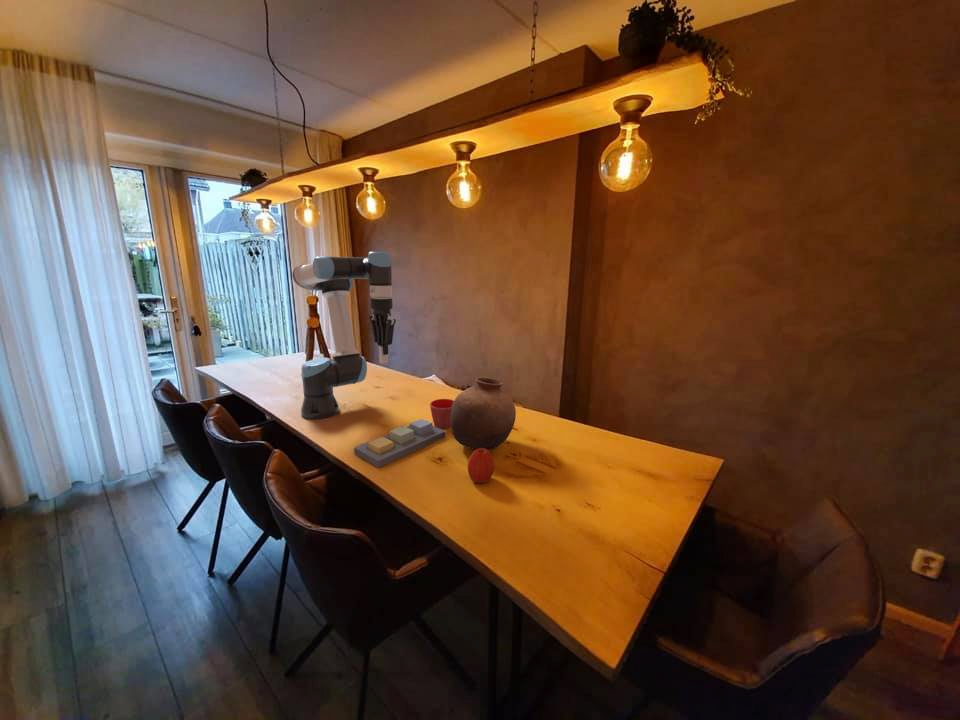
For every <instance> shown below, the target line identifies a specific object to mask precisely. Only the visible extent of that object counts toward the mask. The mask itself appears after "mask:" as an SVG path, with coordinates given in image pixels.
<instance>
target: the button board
mask: <svg viewBox="0 0 960 720" xmlns="http://www.w3.org/2000/svg"><path fill="white" fill-rule="evenodd" d="M406 427H407V428H409V429H410V425H407V426H406ZM446 432H447V431H446V430H445V429H439V428H437V427H435V426H434V425H432V432H430V433H427V434H425V435H423V436H418V435H415V434H414V440H411V441H409V442H407V443H404V444H402V445H399V444H397V443H395V442H393V443H394V448H393V449H390V450H388V451H386V452H383V453H381V454H377V453H375V452H373V451H371V450H369V449H368V442H371V441H373V440H376V439H379V438H381V437H384V438H386V439H388V440H390V432H389V433H387V434H384V435H382V436H378V437H377V438H374V439H372V440H369V441H367V442H365V443H361V444H359V445H356V446H354V447H353V452H354V453H353V454H354V455H355V456H358V457H359V458H361V459H363V460H364V461H365V462H368V463H369V464H371V465H373V466H375V467H377V468H378V469H380V468H382V467H385V466H386V465H389V464H392V463H393V462H395V461H397V460H399V459H401V458H403V457H405V456H406V457H407V456H409V455H410V454H412V453H415V452H417V451H419V450H421V449H423V448H426V447H428V446H430V445H432V444H434V443H436V442H439V441H440V440H443V439H445V438H446V437H447V436H446V435H447V434H446ZM390 441H391V440H390Z"/></svg>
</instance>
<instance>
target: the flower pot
mask: <svg viewBox="0 0 960 720" xmlns="http://www.w3.org/2000/svg"><path fill="white" fill-rule="evenodd" d="M454 400H455V399H450V398H449V399H448V398H438V399H433V400H432V401H431V402H430V403H429V407H430V412H431V417H432V421H433V422H432V423H433V426H434V427H437V428H439V429H442V430H448V429H451V424H450V416H451V409H452V405H453V403H454Z"/></svg>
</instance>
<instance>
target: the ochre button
mask: <svg viewBox="0 0 960 720" xmlns="http://www.w3.org/2000/svg"><path fill="white" fill-rule="evenodd" d="M380 437H381V438H379V437H378V438H379V439H376V438H375V439H376V440H374V439H372V440H373V441H371V440H370V441H371V442H369V441H367V442H368V449H369V450H371V451H373V452H375V453H377V454H381V453H383V452H386V451H388V450H390V449H393V448H394V443H393V441H390V440H388V439H386V438H384V437H382V436H380Z"/></svg>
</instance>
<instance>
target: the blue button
mask: <svg viewBox="0 0 960 720" xmlns="http://www.w3.org/2000/svg"><path fill="white" fill-rule="evenodd" d="M409 426H410V429H411V430H414V434H415V435H418V436H423V435H425V434H427V433H430V432H432V426H433V422H431V421H429V420H425V419H423V418H420V419H418V420H415V421H413V422H410V423H409Z"/></svg>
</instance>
